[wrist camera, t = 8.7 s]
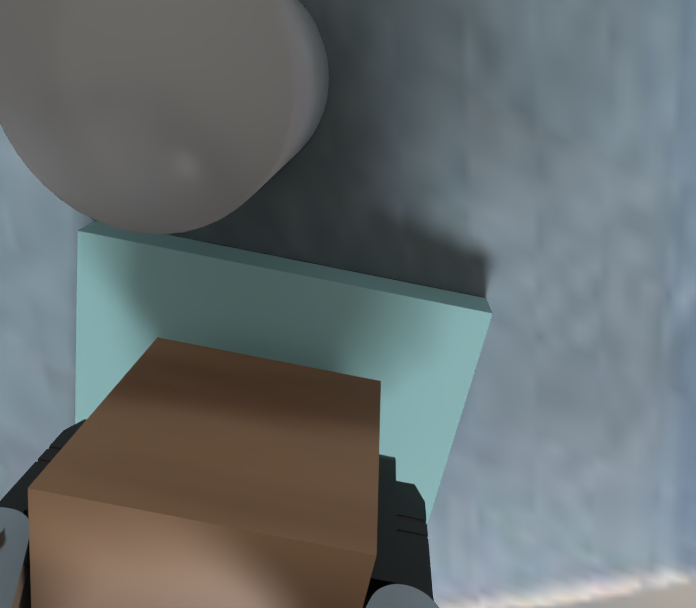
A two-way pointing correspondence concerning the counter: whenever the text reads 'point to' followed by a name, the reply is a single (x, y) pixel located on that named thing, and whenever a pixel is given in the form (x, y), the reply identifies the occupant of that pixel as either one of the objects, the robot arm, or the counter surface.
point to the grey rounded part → (159, 102)
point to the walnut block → (212, 489)
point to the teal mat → (283, 330)
